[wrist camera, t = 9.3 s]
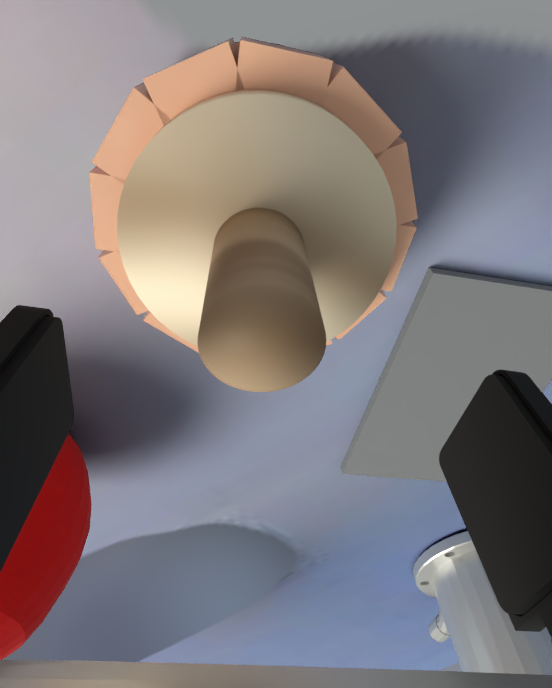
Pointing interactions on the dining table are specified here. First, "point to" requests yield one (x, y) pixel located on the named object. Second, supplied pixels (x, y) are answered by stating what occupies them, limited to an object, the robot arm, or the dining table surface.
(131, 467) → the dining table surface
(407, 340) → the mat
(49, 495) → the tomato
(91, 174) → the bowl
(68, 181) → the dining table surface
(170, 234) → the lid
